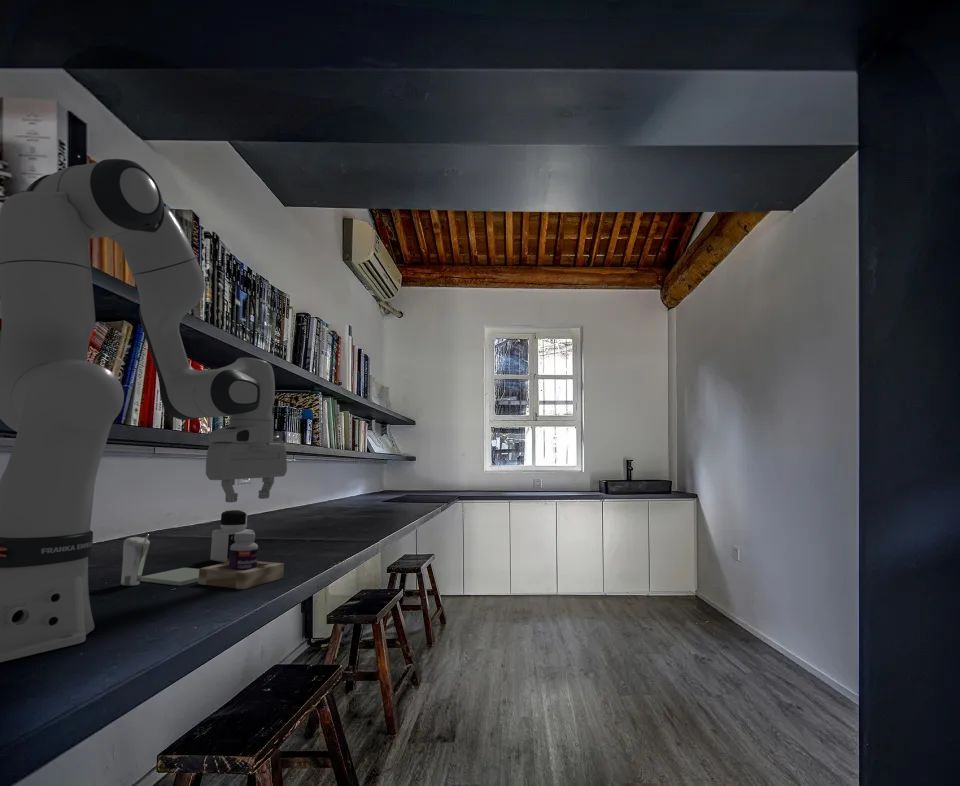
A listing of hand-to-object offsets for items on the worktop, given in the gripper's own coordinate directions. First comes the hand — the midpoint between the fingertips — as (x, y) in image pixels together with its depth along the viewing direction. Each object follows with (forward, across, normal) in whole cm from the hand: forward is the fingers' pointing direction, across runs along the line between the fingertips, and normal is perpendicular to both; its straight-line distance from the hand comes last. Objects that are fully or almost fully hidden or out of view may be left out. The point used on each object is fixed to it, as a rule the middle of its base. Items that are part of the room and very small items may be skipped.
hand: (248, 500), depth 120 cm
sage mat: (+16, +4, -13) cm, 21 cm away
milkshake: (+16, +12, -17) cm, 26 cm away
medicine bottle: (+17, -17, -20) cm, 32 cm away
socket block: (+16, +1, 0) cm, 16 cm away
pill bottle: (+17, +1, 0) cm, 17 cm away
